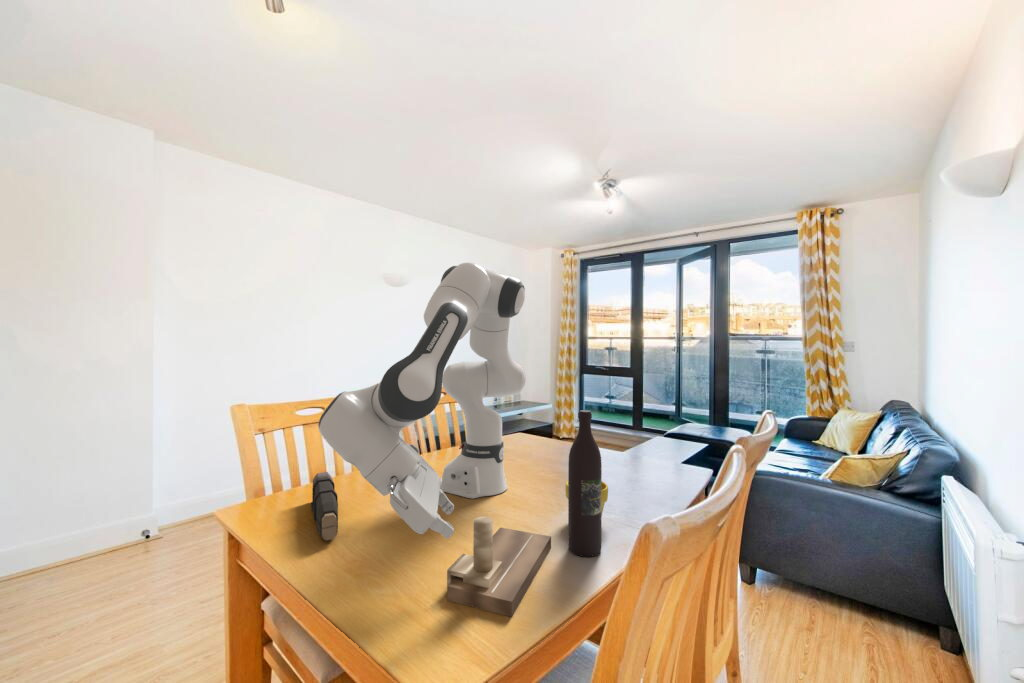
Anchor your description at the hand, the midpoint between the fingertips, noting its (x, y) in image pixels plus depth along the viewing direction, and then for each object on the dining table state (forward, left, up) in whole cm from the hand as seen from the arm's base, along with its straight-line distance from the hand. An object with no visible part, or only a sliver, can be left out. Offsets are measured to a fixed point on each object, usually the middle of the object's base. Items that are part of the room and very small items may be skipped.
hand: (451, 521), depth 73 cm
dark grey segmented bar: (-44, +15, -13) cm, 49 cm away
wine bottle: (+19, +24, -13) cm, 33 cm away
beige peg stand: (+3, +3, -12) cm, 13 cm away
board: (+7, +10, -13) cm, 17 cm away
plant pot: (+17, +37, -13) cm, 43 cm away
